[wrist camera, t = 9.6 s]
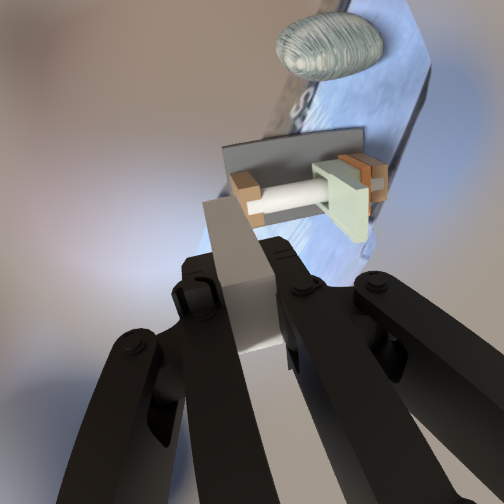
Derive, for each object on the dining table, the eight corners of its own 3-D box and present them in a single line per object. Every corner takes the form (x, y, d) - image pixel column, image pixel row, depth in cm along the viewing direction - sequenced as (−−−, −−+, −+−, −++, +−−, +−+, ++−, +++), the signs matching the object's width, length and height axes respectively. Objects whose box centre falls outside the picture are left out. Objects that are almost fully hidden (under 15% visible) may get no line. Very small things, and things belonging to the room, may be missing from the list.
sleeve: (311, 161, 39) (355, 190, 29) (339, 157, 40) (389, 184, 30) (314, 204, 42) (355, 243, 33) (341, 199, 43) (386, 236, 33)
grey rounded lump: (365, 1, 30) (397, 24, 25) (367, 57, 38) (393, 90, 33) (265, 9, 32) (275, 31, 27) (277, 66, 40) (288, 101, 35)
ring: (337, 155, 40) (362, 167, 35) (345, 154, 40) (370, 166, 35) (339, 199, 43) (362, 217, 38) (347, 198, 43) (370, 215, 38)
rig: (221, 146, 40) (231, 160, 33) (357, 127, 42) (391, 138, 35) (235, 227, 46) (247, 256, 39) (359, 201, 49) (388, 224, 41)
